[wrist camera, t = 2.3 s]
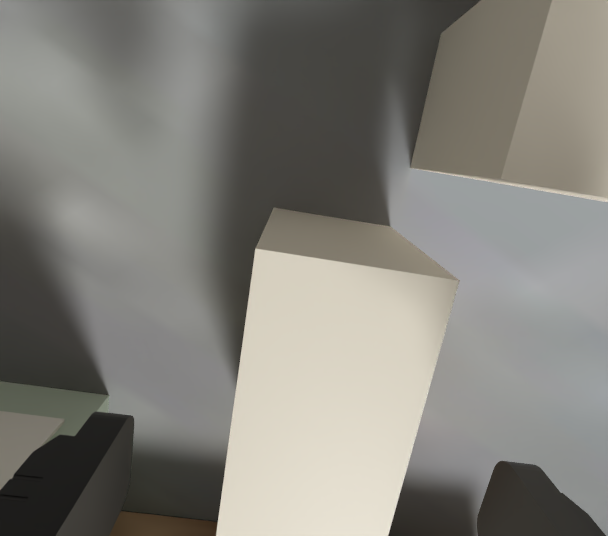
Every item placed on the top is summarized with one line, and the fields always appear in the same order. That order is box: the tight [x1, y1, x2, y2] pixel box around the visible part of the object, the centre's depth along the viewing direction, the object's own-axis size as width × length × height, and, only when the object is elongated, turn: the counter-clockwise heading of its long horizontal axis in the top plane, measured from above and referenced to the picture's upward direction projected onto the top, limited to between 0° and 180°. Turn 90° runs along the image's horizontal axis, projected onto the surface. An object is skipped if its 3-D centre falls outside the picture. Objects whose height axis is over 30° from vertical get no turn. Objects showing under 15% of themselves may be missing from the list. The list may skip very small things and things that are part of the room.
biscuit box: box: [216, 208, 459, 536], centre depth 13 cm, size 5×9×7 cm, turn 170°
